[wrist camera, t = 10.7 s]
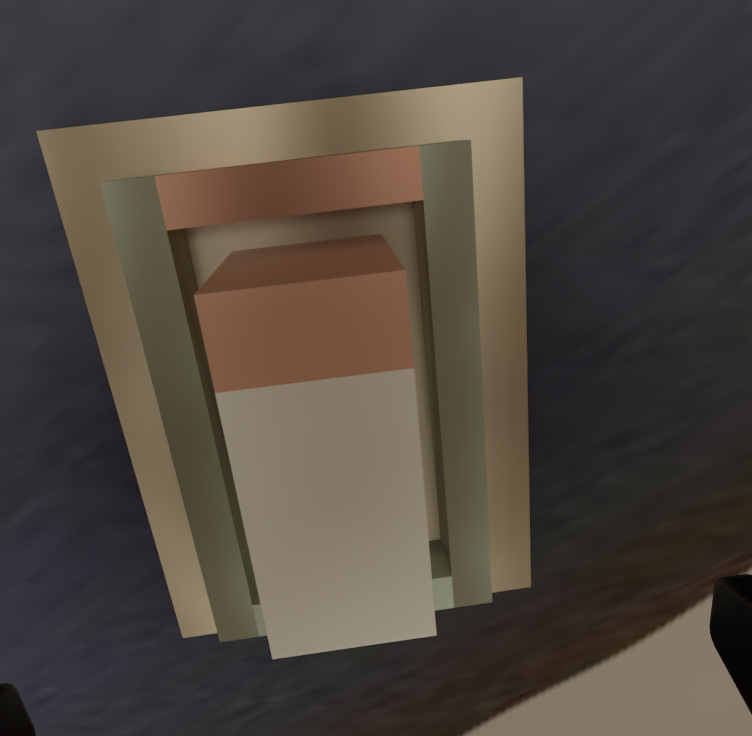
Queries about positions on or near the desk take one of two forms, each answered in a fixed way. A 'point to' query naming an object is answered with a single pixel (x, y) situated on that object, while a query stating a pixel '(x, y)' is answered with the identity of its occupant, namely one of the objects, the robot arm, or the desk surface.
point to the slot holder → (301, 225)
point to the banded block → (323, 439)
